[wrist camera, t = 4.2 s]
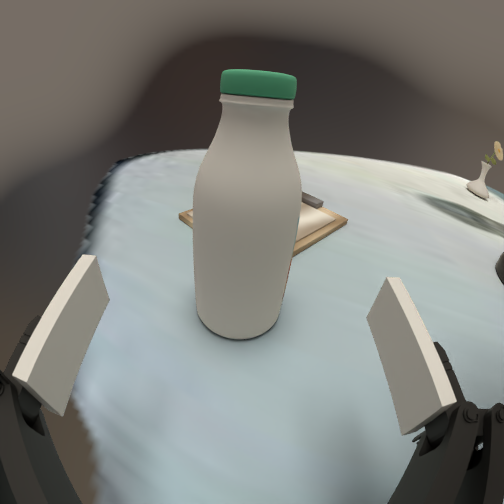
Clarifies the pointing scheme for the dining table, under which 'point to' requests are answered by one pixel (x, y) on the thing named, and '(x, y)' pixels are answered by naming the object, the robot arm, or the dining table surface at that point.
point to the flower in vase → (484, 174)
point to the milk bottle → (246, 206)
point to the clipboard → (303, 222)
